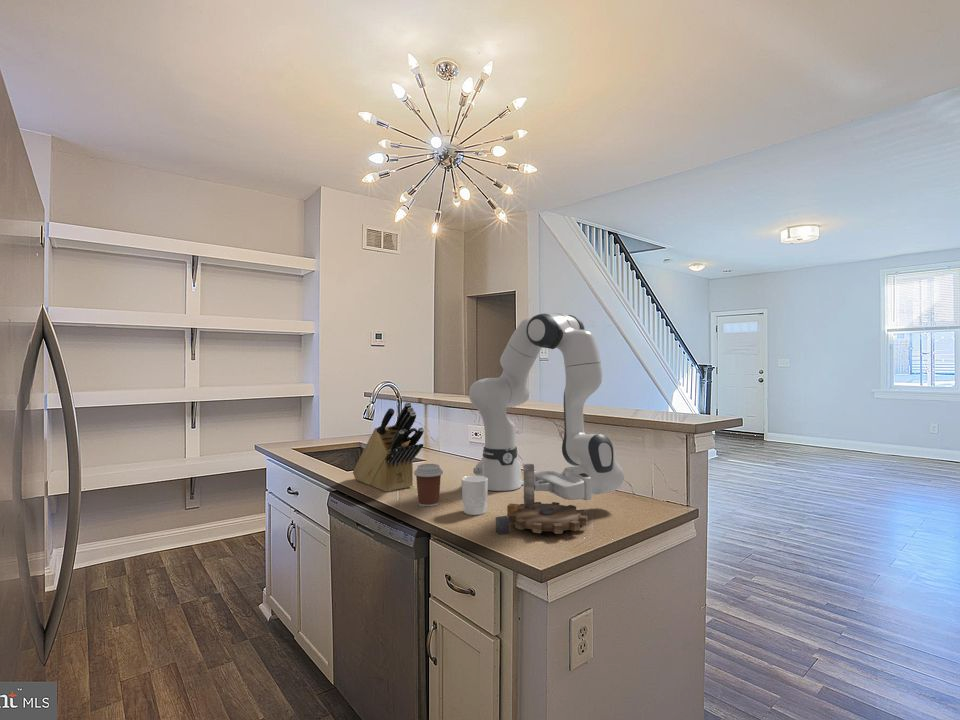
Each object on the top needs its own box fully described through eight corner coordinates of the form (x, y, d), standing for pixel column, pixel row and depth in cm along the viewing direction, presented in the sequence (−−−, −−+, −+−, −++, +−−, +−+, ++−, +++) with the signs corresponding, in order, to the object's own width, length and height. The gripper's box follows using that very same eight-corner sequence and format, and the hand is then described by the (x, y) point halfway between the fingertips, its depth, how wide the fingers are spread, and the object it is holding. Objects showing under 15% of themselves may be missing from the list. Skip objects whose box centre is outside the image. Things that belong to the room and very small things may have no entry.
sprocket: (491, 518, 140) (490, 468, 140) (546, 504, 154) (545, 458, 154) (548, 540, 123) (547, 482, 123) (604, 521, 137) (603, 469, 137)
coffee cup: (409, 502, 162) (408, 465, 162) (434, 498, 167) (433, 461, 167) (422, 509, 154) (422, 470, 154) (448, 504, 160) (448, 466, 160)
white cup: (458, 509, 154) (458, 476, 154) (482, 506, 157) (482, 474, 157) (466, 517, 147) (466, 482, 147) (492, 514, 149) (491, 480, 149)
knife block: (398, 498, 167) (397, 404, 167) (352, 479, 194) (351, 398, 194) (427, 493, 174) (426, 402, 174) (378, 475, 201) (378, 397, 201)
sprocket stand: (490, 528, 136) (490, 514, 136) (552, 519, 144) (551, 505, 144) (504, 538, 129) (503, 522, 129) (567, 528, 136) (567, 513, 136)
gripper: (555, 464, 160) (516, 468, 154) (594, 478, 141) (550, 483, 136) (555, 484, 160) (516, 489, 155) (594, 501, 141) (551, 507, 136)
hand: (532, 487), depth 145 cm, fingers closed, pressing on sprocket
